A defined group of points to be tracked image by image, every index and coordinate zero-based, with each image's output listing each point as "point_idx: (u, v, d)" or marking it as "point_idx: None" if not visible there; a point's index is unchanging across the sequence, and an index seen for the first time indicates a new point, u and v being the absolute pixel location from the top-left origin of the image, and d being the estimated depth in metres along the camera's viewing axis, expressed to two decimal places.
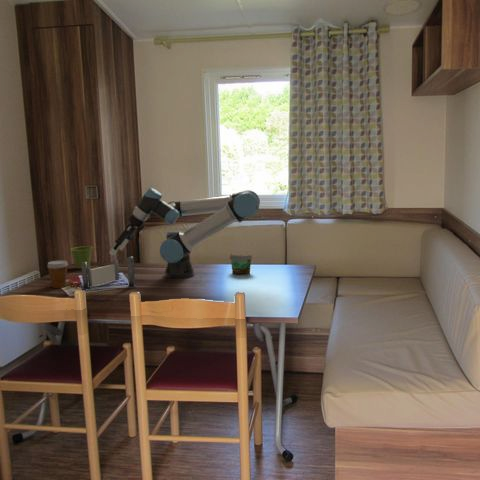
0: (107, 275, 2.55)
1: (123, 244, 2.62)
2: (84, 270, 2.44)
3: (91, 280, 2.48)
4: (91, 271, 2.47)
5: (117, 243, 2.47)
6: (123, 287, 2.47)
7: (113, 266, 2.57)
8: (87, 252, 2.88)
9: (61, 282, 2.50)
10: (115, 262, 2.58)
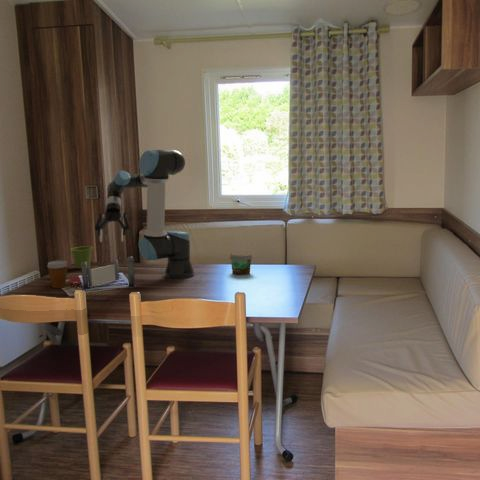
0: (107, 275, 2.55)
1: None
2: (84, 270, 2.44)
3: (91, 280, 2.48)
4: (91, 271, 2.47)
5: (97, 230, 2.70)
6: (123, 287, 2.47)
7: (113, 266, 2.57)
8: (87, 252, 2.88)
9: (61, 282, 2.50)
10: (115, 262, 2.58)
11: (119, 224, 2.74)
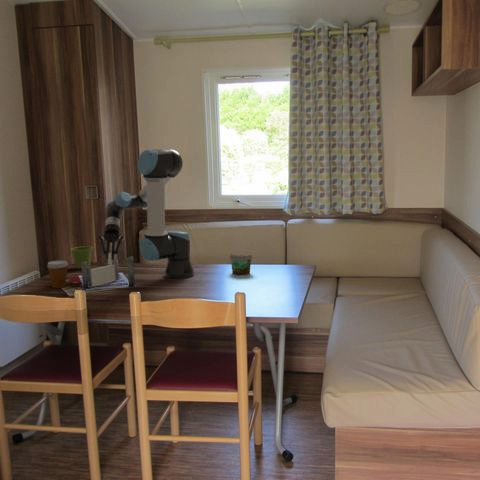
0: (107, 275, 2.55)
1: None
2: (84, 270, 2.44)
3: (91, 280, 2.48)
4: (91, 271, 2.47)
5: (106, 253, 2.68)
6: (123, 287, 2.47)
7: (113, 266, 2.57)
8: (87, 252, 2.88)
9: (61, 282, 2.50)
10: (115, 262, 2.58)
11: None
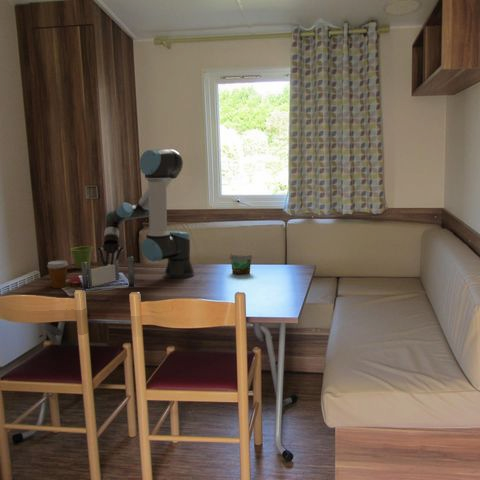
0: (107, 275, 2.55)
1: None
2: (84, 270, 2.44)
3: (91, 280, 2.48)
4: (91, 271, 2.47)
5: (105, 265, 2.63)
6: (123, 287, 2.47)
7: (113, 266, 2.57)
8: (87, 252, 2.88)
9: (61, 282, 2.50)
10: (115, 262, 2.58)
11: None
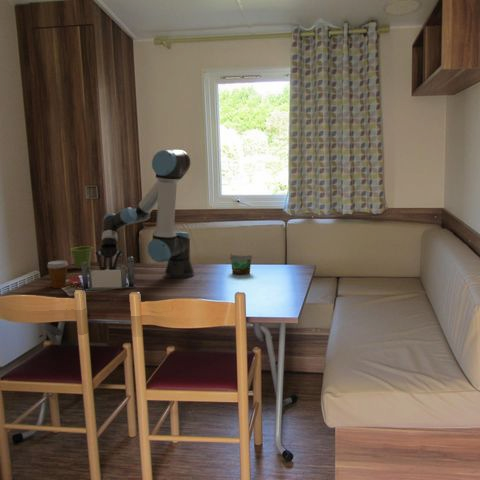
0: (111, 279, 2.46)
1: None
2: (84, 270, 2.44)
3: (91, 281, 2.45)
4: (91, 272, 2.45)
5: None
6: (123, 287, 2.47)
7: (119, 272, 2.45)
8: (87, 252, 2.88)
9: (61, 282, 2.50)
10: (121, 268, 2.45)
11: None
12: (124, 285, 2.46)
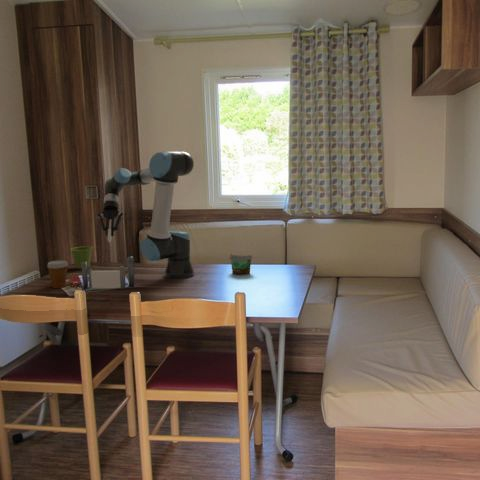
0: (110, 280, 2.45)
1: None
2: (84, 270, 2.44)
3: (90, 281, 2.45)
4: (91, 272, 2.44)
5: (105, 230, 2.62)
6: None
7: (118, 273, 2.44)
8: (87, 252, 2.88)
9: (61, 282, 2.50)
10: (120, 269, 2.43)
11: None
12: (123, 286, 2.44)
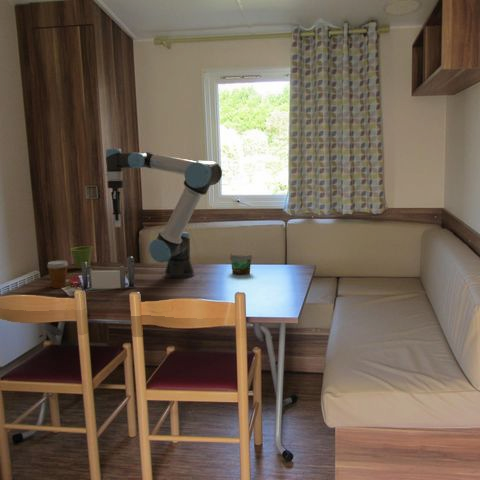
0: (110, 280, 2.45)
1: None
2: (84, 270, 2.44)
3: (90, 281, 2.45)
4: (91, 272, 2.44)
5: (115, 213, 2.61)
6: None
7: (118, 273, 2.44)
8: (87, 252, 2.88)
9: (61, 282, 2.50)
10: (120, 269, 2.43)
11: None
12: (123, 286, 2.44)
